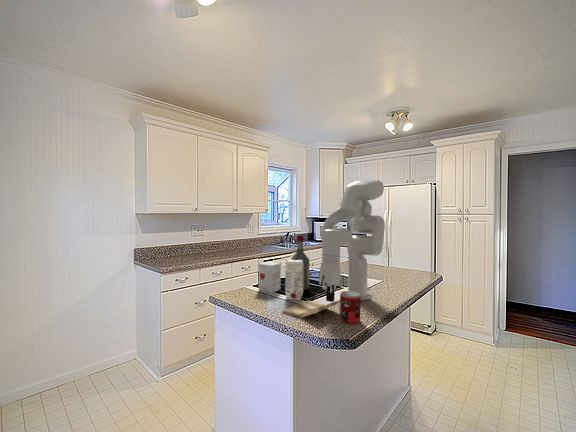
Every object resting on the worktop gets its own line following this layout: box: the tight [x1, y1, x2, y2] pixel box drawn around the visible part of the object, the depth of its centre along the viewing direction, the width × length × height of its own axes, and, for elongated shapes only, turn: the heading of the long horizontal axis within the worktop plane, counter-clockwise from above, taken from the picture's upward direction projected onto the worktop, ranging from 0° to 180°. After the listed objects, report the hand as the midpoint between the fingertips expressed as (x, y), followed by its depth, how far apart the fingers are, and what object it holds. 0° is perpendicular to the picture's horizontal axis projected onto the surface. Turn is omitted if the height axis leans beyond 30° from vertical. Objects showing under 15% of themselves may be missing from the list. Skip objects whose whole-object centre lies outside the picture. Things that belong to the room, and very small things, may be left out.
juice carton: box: [284, 258, 304, 301], centre depth 145 cm, size 8×9×19 cm
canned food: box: [339, 290, 362, 325], centre depth 116 cm, size 8×8×11 cm
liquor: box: [290, 234, 310, 291], centre depth 164 cm, size 9×9×30 cm
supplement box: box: [258, 261, 282, 294], centre depth 159 cm, size 9×9×15 cm
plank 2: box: [316, 299, 340, 309], centre depth 125 cm, size 8×10×1 cm
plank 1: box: [300, 304, 330, 319], centre depth 119 cm, size 8×10×1 cm
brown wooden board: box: [282, 300, 325, 319], centre depth 128 cm, size 18×9×1 cm, turn 137°
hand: (330, 300), depth 124 cm, fingers closed
